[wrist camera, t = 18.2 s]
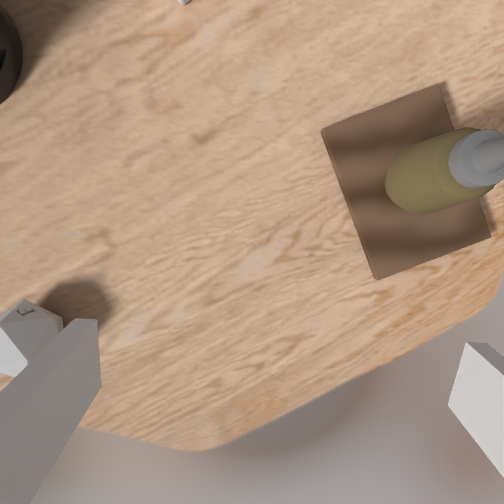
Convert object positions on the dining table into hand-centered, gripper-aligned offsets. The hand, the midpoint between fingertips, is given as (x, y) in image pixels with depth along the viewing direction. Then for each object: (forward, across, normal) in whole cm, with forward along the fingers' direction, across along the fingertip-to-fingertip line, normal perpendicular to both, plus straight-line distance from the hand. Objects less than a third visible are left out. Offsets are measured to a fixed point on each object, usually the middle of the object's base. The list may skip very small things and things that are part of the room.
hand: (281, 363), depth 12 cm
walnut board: (+34, +18, +4) cm, 39 cm away
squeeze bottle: (+32, +18, +4) cm, 38 cm away
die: (+30, -26, -18) cm, 44 cm away
